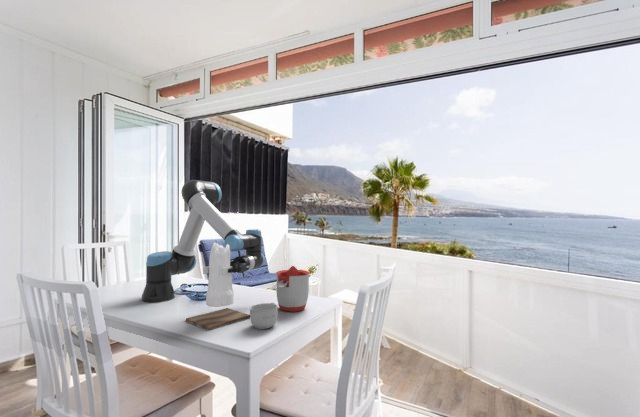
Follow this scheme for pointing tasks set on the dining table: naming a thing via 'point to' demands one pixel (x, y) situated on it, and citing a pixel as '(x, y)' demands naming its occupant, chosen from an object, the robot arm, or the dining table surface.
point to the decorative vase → (219, 278)
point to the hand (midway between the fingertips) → (212, 271)
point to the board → (217, 318)
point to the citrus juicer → (292, 289)
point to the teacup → (263, 315)
